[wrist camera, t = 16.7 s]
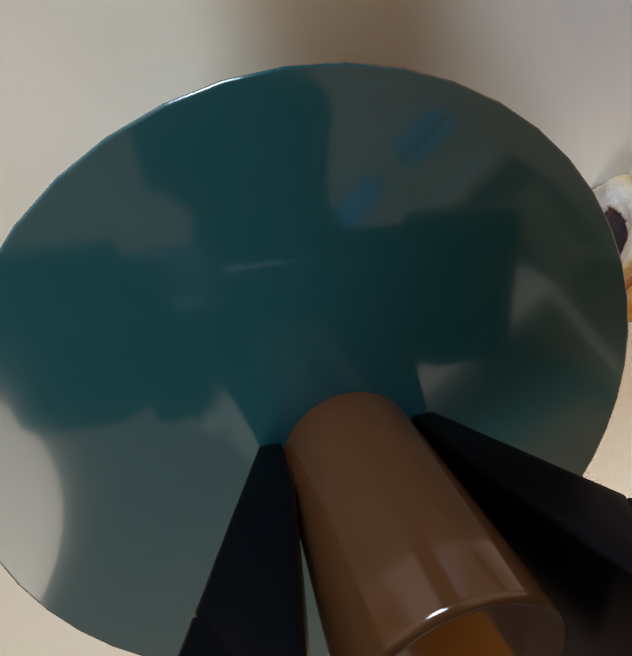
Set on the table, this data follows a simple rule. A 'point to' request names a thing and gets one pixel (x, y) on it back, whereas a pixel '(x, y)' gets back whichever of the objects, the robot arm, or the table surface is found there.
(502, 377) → the lid
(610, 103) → the table surface
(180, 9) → the table surface
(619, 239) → the pastry
